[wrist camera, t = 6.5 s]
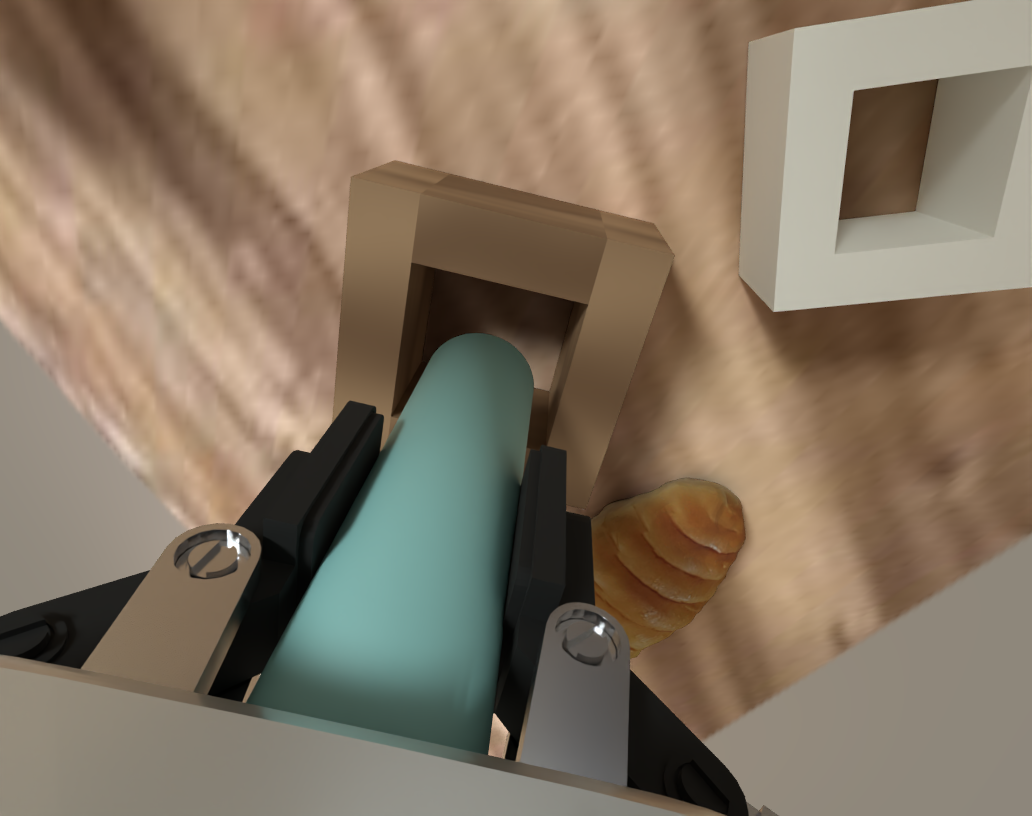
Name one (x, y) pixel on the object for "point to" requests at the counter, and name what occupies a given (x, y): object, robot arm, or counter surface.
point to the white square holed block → (946, 172)
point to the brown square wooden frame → (506, 260)
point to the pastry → (664, 556)
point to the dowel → (419, 564)
